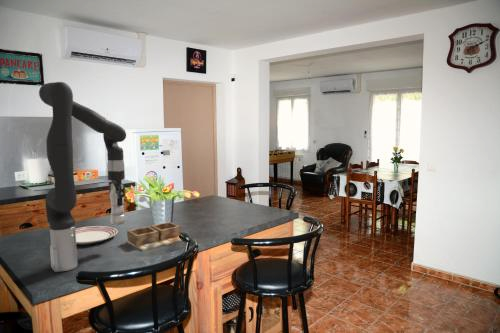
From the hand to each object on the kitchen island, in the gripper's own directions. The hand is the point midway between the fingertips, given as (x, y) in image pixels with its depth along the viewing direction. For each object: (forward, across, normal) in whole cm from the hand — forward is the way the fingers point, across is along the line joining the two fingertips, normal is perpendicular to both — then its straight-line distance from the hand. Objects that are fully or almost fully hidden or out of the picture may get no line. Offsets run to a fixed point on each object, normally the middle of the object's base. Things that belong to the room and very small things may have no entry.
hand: (117, 204), depth 168 cm
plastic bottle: (+10, 0, 0) cm, 10 cm away
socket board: (+21, +3, +18) cm, 28 cm away
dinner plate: (+22, -24, -6) cm, 33 cm away
